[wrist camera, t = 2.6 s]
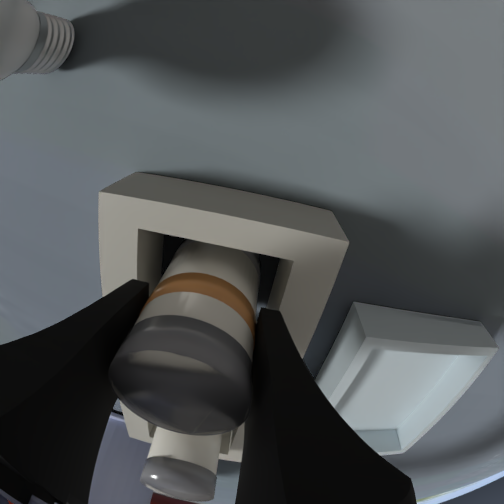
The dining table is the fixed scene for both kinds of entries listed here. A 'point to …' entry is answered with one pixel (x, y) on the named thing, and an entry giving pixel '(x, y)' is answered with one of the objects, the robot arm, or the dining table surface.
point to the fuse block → (224, 234)
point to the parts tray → (401, 371)
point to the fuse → (182, 465)
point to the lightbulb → (32, 39)
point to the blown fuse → (193, 343)
